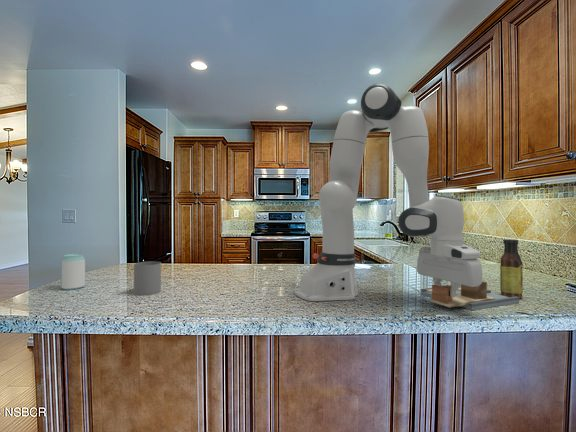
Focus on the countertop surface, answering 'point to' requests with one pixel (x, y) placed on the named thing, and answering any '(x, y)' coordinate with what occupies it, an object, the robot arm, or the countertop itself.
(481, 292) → the walnut cube
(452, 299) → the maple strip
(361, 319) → the countertop surface
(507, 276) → the sauce bottle
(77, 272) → the can
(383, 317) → the countertop surface
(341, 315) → the countertop surface
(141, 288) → the cup
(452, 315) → the countertop surface
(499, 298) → the lane board
